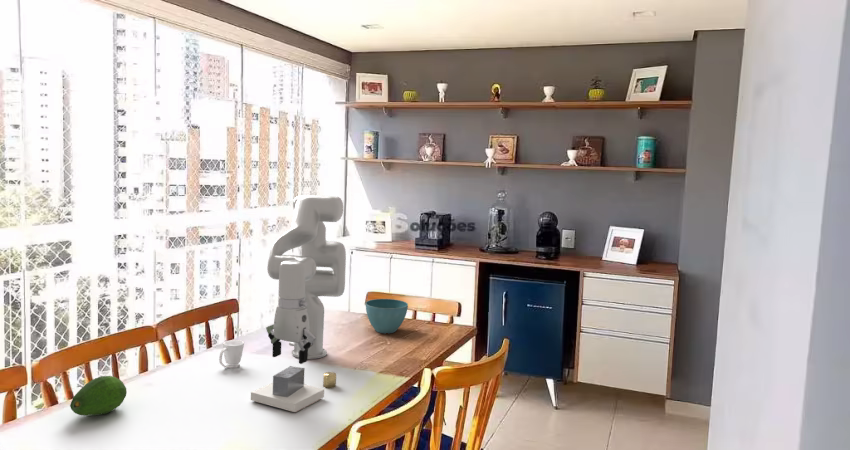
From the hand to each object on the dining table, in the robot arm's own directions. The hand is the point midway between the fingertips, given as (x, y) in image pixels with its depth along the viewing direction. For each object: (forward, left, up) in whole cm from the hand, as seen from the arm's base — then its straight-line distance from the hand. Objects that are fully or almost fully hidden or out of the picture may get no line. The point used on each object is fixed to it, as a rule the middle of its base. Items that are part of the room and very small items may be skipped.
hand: (289, 359), depth 183 cm
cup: (-35, +12, -13) cm, 39 cm away
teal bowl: (-16, +85, -13) cm, 88 cm away
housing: (0, 0, -9) cm, 9 cm away
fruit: (-35, -37, -13) cm, 52 cm away
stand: (0, -1, -12) cm, 12 cm away
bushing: (+3, +16, -12) cm, 21 cm away
